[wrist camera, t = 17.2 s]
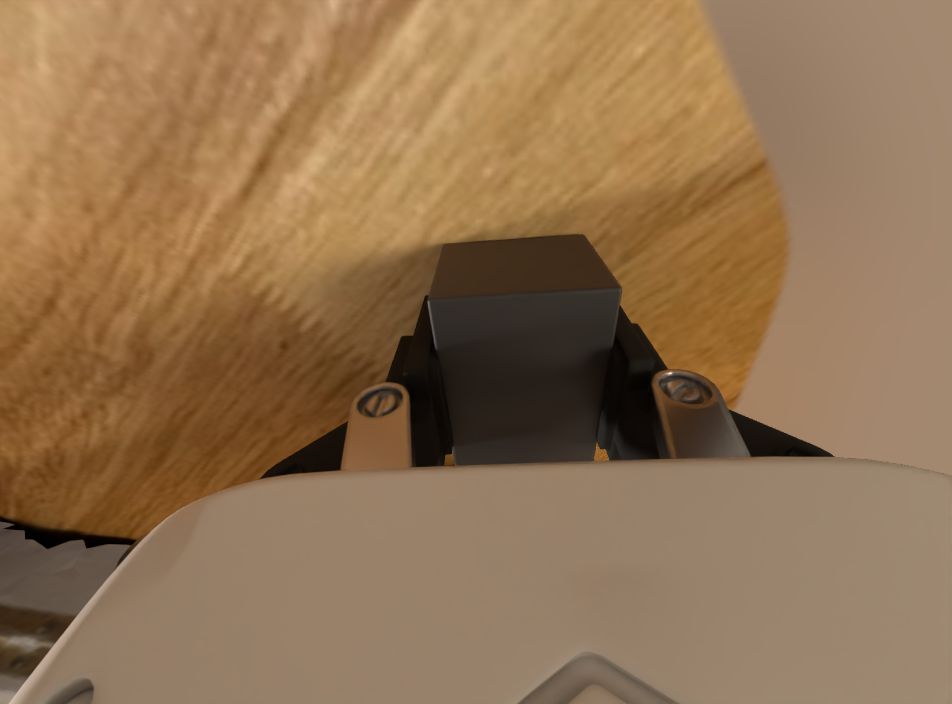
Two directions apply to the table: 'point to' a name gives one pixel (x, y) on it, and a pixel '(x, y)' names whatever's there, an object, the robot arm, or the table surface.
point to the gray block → (523, 347)
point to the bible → (43, 598)
